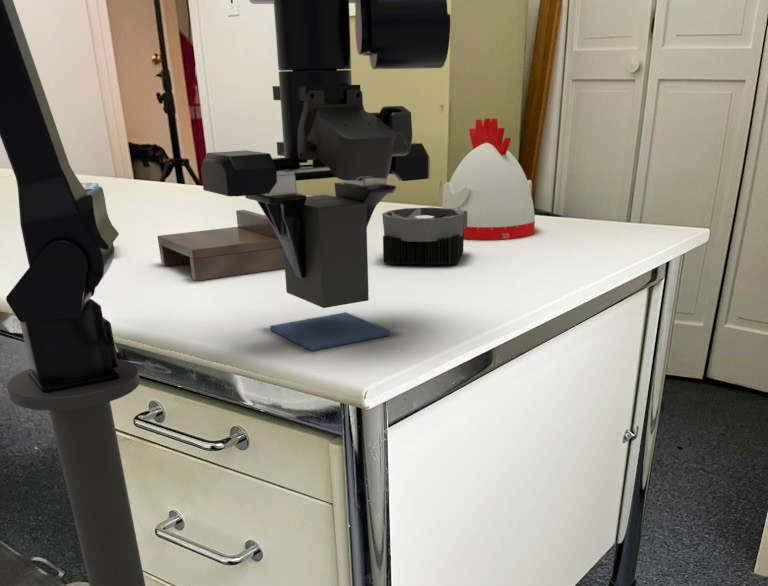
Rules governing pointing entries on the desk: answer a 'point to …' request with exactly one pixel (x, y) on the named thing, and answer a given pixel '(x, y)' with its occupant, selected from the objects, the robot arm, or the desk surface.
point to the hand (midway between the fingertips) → (325, 273)
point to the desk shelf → (226, 248)
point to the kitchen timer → (491, 188)
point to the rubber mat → (329, 331)
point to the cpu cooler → (423, 235)
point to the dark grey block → (332, 253)
